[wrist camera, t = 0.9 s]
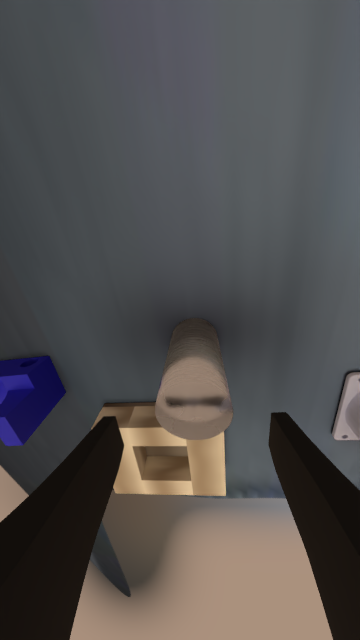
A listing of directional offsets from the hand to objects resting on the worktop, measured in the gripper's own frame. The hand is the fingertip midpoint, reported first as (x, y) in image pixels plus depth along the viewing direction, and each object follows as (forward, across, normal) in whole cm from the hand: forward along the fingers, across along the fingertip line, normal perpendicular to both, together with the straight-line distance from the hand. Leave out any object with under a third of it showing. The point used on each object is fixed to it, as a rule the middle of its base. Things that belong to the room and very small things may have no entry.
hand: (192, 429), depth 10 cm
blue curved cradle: (+10, +20, +4) cm, 22 cm away
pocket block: (+9, +4, +12) cm, 15 cm away
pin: (+9, 0, 0) cm, 9 cm away
